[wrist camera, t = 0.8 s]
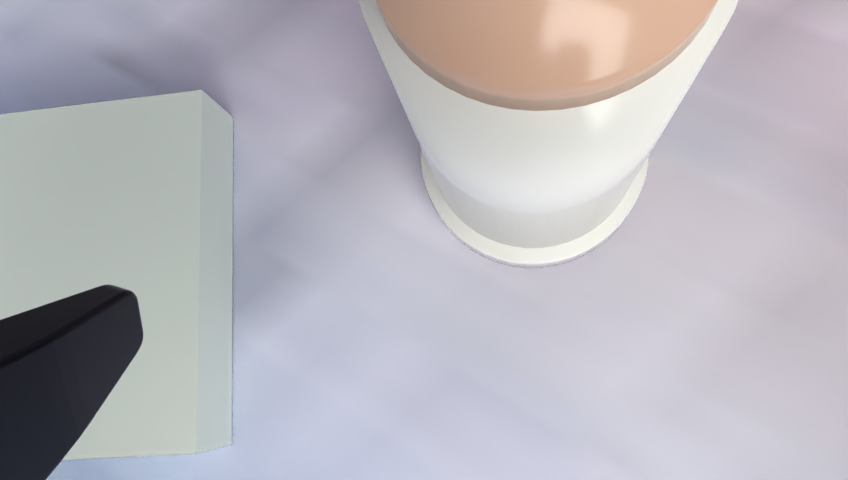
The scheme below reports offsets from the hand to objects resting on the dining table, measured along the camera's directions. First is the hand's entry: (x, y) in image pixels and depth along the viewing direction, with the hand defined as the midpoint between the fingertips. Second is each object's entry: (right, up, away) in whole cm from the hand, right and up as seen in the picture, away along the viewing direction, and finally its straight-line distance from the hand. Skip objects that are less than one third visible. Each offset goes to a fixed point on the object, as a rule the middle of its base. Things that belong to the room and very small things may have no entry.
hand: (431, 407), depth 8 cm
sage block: (-12, +1, +16) cm, 20 cm away
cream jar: (+4, +5, +14) cm, 15 cm away
